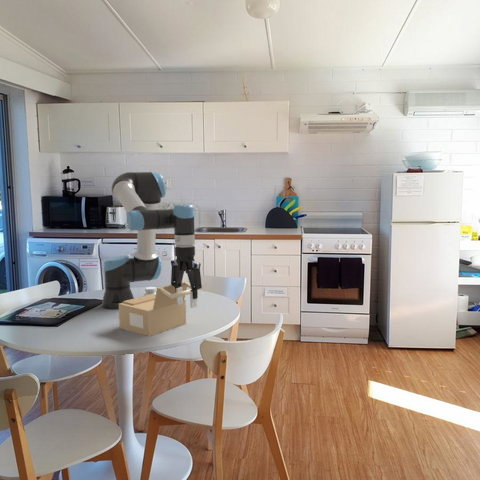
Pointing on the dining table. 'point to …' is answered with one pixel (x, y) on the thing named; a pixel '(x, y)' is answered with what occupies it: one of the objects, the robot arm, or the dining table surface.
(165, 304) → the flap
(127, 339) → the dining table surface
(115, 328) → the dining table surface
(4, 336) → the dining table surface
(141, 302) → the carton
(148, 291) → the pill bottle
